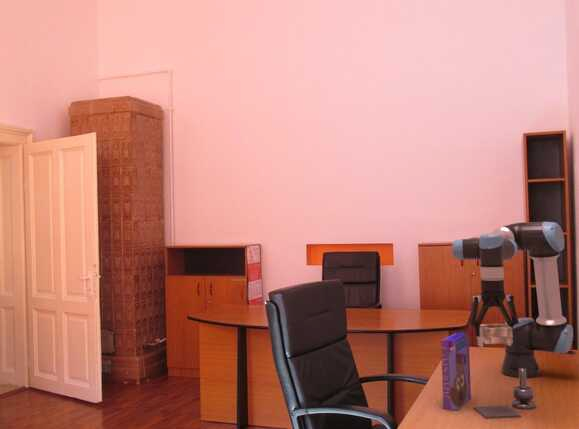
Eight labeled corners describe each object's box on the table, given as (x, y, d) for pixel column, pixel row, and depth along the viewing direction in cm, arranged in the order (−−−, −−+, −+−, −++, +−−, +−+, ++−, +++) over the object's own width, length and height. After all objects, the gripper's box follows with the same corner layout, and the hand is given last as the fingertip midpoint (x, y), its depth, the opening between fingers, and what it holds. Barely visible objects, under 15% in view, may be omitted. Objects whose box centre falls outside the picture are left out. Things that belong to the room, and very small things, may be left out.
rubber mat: (507, 407, 211) (507, 405, 211) (520, 417, 200) (520, 415, 200) (473, 408, 211) (473, 406, 211) (485, 418, 200) (485, 416, 200)
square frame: (502, 338, 211) (501, 323, 211) (512, 343, 202) (512, 328, 202) (476, 339, 210) (476, 324, 210) (486, 344, 201) (485, 329, 201)
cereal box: (456, 411, 209) (454, 341, 209) (443, 409, 211) (441, 340, 212) (470, 398, 223) (468, 332, 224) (458, 396, 226) (455, 331, 226)
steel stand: (529, 402, 216) (528, 365, 217) (540, 408, 208) (538, 370, 209) (507, 403, 216) (506, 366, 216) (517, 409, 208) (516, 371, 208)
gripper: (518, 277, 211) (521, 342, 210) (457, 279, 210) (459, 344, 209) (528, 279, 203) (530, 346, 203) (464, 281, 202) (466, 349, 202)
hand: (494, 345), depth 206 cm, fingers closed on square frame, 9 cm apart
